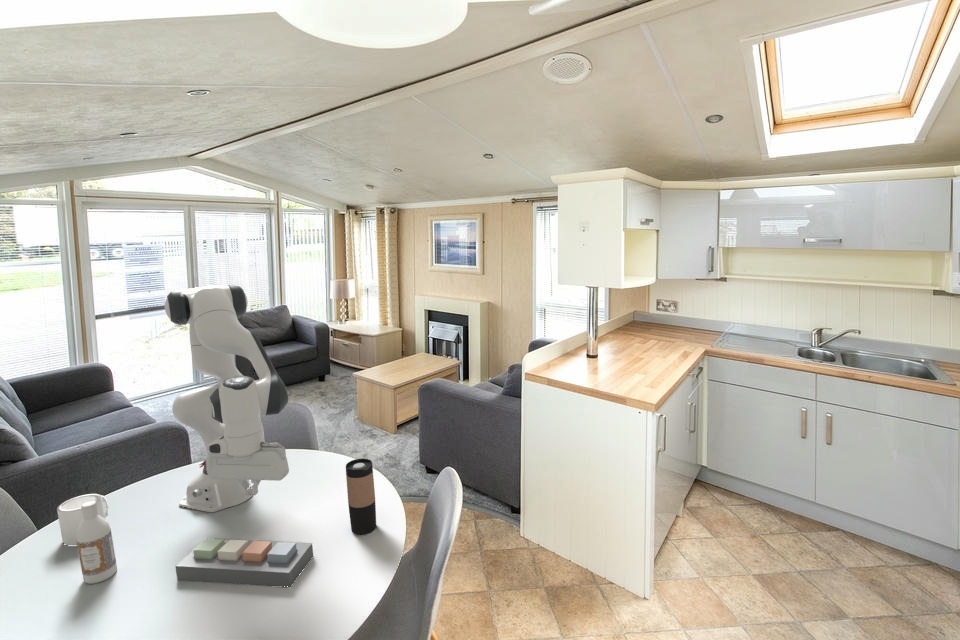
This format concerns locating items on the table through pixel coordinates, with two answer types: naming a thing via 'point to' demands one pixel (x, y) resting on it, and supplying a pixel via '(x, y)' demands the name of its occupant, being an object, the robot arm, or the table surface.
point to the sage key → (208, 549)
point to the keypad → (245, 568)
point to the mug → (77, 515)
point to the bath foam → (95, 546)
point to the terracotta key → (257, 551)
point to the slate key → (282, 552)
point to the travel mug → (361, 496)
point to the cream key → (232, 550)
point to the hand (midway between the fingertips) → (251, 494)
